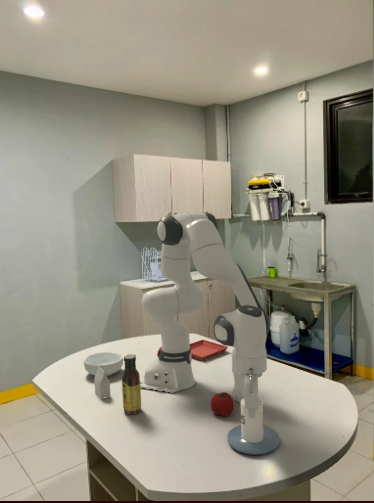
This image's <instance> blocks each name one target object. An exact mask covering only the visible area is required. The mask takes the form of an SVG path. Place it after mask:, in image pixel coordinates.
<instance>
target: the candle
mask: <svg viewBox="0 0 374 503" xmlns="http://www.w3.org/2000/svg"><path fill="white" fill-rule="evenodd" d="M263 408H264V407H263V400H261V399H260V398H258V409H255V418H249V412H248V409H246V408H245V400H244V399H242V400H241V404H240V422H241V423H240V425H241V432H242V439H243V440H245V441H247V442H250V443H257V442H260V441H262V440H263V425H264V411H263V410H264V409H263Z"/></svg>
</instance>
